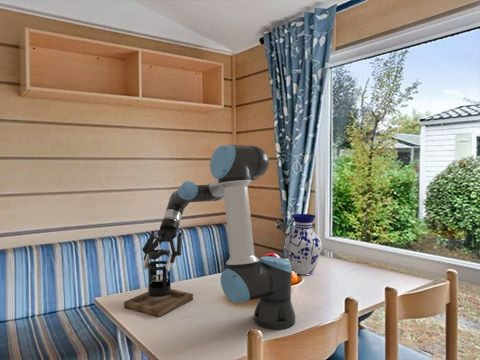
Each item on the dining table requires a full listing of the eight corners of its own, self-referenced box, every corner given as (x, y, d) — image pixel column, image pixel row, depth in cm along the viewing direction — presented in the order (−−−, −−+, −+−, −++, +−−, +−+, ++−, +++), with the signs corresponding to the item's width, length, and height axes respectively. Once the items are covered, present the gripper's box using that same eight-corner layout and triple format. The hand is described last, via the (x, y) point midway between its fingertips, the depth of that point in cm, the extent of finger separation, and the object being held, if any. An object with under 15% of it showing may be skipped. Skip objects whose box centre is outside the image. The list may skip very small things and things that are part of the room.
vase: (321, 279, 191) (322, 219, 189) (282, 276, 195) (283, 217, 193) (321, 268, 210) (322, 213, 208) (285, 266, 213) (286, 212, 212)
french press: (176, 293, 156) (175, 237, 155) (155, 299, 150) (154, 240, 149) (162, 286, 165) (161, 232, 164) (141, 291, 159) (140, 235, 158)
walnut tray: (193, 299, 162) (193, 293, 162) (159, 317, 144) (159, 310, 144) (159, 292, 171) (159, 286, 171) (124, 307, 153) (124, 301, 153)
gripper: (196, 228, 169) (184, 275, 154) (150, 226, 173) (133, 271, 159) (192, 218, 164) (179, 266, 149) (145, 216, 168) (127, 262, 153)
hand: (156, 268), depth 154 cm, fingers closed on french press, 9 cm apart
